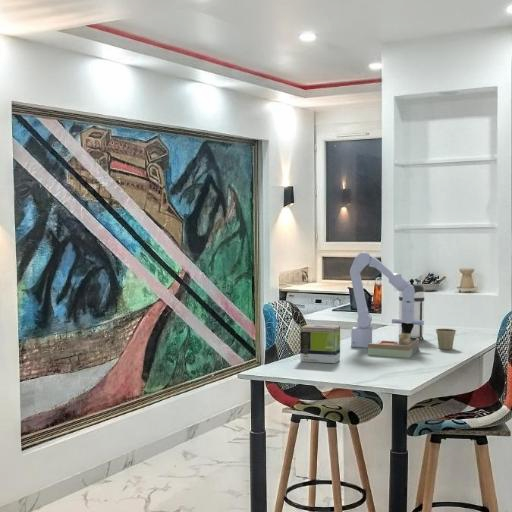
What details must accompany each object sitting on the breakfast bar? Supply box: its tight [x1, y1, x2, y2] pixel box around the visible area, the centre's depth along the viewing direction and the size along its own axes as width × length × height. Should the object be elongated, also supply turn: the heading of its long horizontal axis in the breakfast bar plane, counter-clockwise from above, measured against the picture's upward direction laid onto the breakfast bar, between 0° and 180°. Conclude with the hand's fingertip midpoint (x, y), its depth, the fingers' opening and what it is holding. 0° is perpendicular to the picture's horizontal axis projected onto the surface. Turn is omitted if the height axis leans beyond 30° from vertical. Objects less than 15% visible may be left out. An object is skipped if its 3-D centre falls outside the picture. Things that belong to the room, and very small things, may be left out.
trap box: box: [367, 338, 420, 359], centre depth 355 cm, size 18×24×5 cm
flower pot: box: [435, 328, 457, 350], centre depth 366 cm, size 9×9×9 cm
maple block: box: [398, 333, 412, 345], centre depth 360 cm, size 4×4×4 cm
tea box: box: [299, 324, 341, 364], centre depth 330 cm, size 15×10×15 cm, turn 71°
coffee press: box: [398, 278, 426, 341], centre depth 396 cm, size 17×16×30 cm
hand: (407, 339), depth 366 cm, fingers closed
